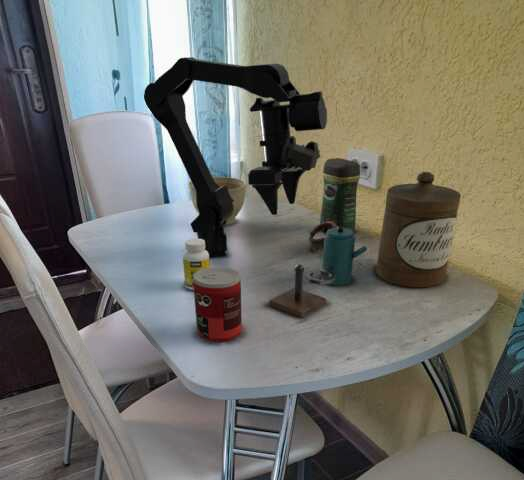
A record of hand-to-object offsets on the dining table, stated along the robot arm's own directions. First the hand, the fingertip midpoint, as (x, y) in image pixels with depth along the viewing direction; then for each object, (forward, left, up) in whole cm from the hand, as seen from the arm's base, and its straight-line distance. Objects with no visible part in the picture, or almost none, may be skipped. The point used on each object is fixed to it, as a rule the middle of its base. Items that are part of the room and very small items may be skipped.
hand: (283, 209), depth 112 cm
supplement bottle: (-21, -9, -13) cm, 26 cm away
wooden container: (+26, -12, -13) cm, 32 cm away
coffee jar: (+20, +21, -13) cm, 32 cm away
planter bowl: (-11, +35, -13) cm, 39 cm away
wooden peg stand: (-2, -22, -13) cm, 25 cm away
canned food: (-19, -30, -13) cm, 38 cm away
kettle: (+8, -16, -13) cm, 22 cm away
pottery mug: (+13, +6, -13) cm, 19 cm away
